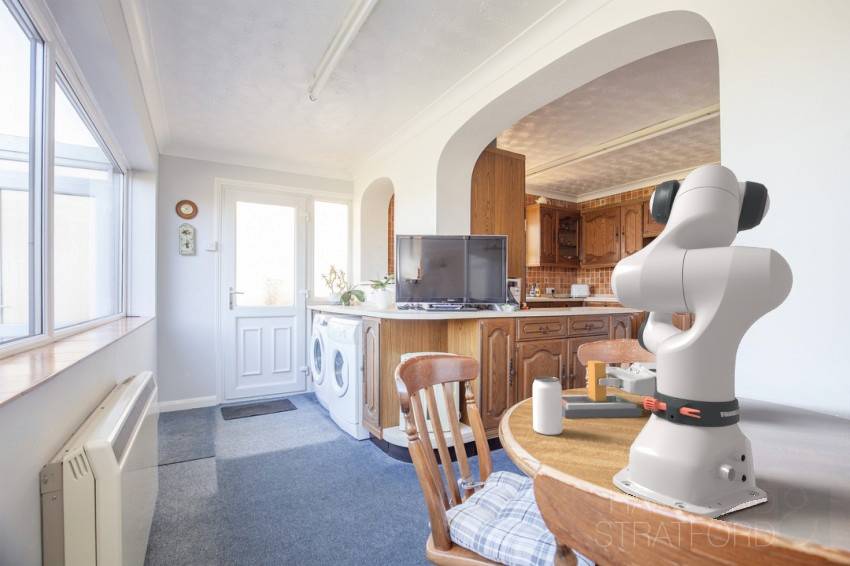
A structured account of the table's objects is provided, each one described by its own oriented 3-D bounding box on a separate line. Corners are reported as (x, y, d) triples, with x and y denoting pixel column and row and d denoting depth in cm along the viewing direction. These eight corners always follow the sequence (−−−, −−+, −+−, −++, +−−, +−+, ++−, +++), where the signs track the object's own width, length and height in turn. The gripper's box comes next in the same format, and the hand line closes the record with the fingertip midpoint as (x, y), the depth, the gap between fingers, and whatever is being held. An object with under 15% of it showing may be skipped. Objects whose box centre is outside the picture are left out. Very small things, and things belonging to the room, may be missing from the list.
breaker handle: (601, 399, 110) (600, 360, 111) (612, 405, 104) (611, 363, 105) (583, 400, 110) (582, 360, 110) (593, 405, 104) (592, 363, 104)
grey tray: (618, 405, 113) (618, 393, 113) (641, 416, 102) (641, 404, 102) (549, 406, 112) (549, 394, 112) (565, 418, 101) (565, 405, 101)
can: (565, 429, 92) (564, 377, 93) (558, 438, 87) (557, 382, 87) (537, 425, 96) (537, 375, 96) (529, 432, 90) (528, 379, 91)
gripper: (622, 361, 118) (577, 361, 118) (667, 374, 98) (612, 375, 97) (622, 382, 118) (577, 383, 118) (668, 400, 98) (613, 401, 97)
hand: (593, 379), depth 107 cm, fingers closed on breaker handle, 4 cm apart
